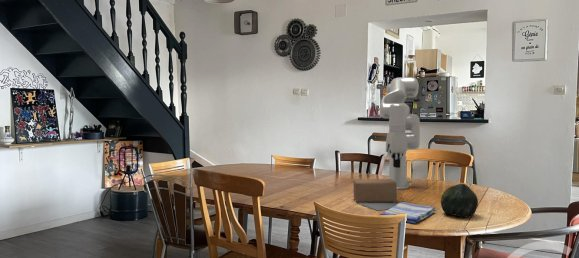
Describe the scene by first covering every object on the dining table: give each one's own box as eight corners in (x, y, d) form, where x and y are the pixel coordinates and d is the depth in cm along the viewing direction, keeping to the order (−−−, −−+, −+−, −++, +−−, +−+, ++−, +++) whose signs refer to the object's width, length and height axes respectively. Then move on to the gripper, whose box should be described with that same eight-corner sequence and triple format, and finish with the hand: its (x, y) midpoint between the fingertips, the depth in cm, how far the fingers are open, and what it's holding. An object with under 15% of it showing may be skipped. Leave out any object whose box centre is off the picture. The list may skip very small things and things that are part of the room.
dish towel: (436, 212, 191) (436, 206, 190) (417, 225, 172) (417, 218, 172) (399, 206, 201) (399, 200, 201) (377, 217, 182) (377, 211, 182)
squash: (440, 197, 198) (442, 176, 187) (475, 200, 194) (479, 179, 183) (439, 223, 188) (442, 203, 178) (476, 227, 184) (481, 207, 174)
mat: (384, 200, 216) (384, 199, 216) (406, 206, 202) (406, 206, 202) (357, 203, 208) (357, 203, 208) (378, 211, 194) (378, 210, 194)
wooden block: (397, 181, 208) (355, 182, 209) (397, 202, 208) (355, 202, 209) (392, 178, 218) (353, 179, 219) (393, 198, 218) (353, 198, 219)
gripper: (403, 128, 214) (403, 165, 215) (379, 129, 207) (379, 167, 208) (414, 129, 207) (413, 167, 208) (390, 130, 200) (389, 169, 201)
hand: (396, 167), depth 208 cm, fingers closed
